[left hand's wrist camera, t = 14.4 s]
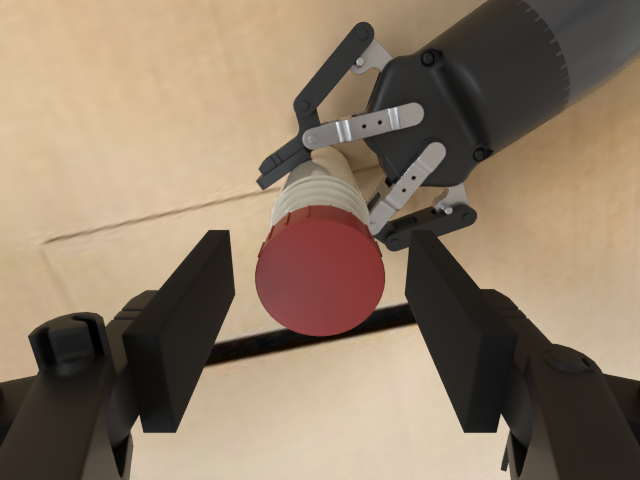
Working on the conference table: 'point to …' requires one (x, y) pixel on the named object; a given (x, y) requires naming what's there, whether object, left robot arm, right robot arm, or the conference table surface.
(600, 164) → the conference table surface
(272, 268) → the cap
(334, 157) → the bottle
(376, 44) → the right robot arm
